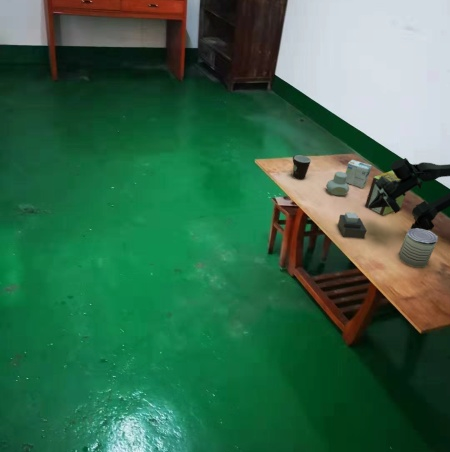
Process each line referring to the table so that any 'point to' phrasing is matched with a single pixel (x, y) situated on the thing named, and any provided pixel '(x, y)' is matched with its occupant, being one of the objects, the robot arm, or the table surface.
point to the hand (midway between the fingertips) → (369, 207)
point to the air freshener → (338, 184)
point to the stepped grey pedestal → (351, 228)
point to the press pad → (351, 217)
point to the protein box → (373, 191)
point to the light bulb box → (357, 173)
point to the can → (417, 247)
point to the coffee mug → (300, 166)
